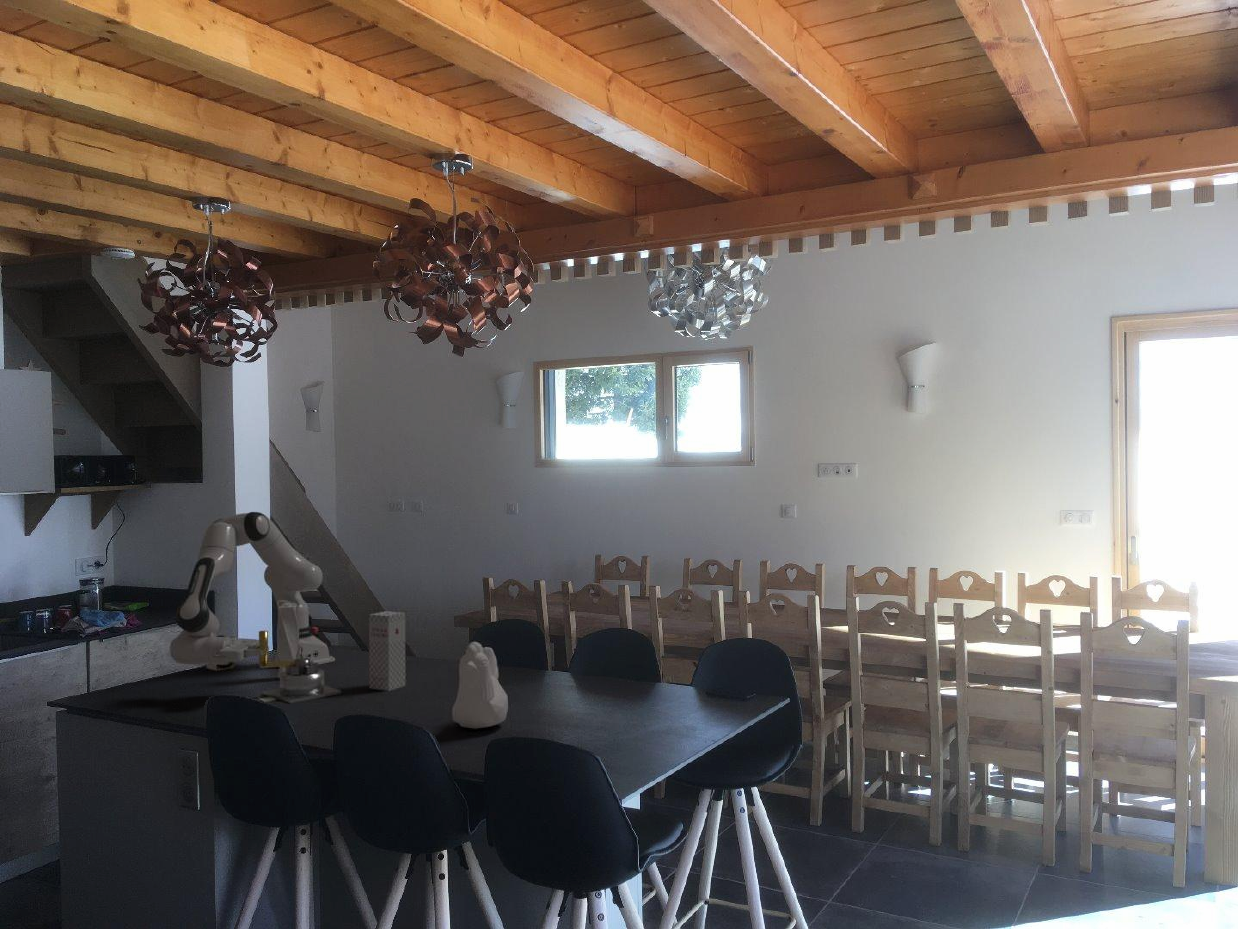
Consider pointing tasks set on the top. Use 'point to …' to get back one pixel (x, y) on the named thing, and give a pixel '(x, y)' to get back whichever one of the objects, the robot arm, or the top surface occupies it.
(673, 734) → the top surface
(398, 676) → the box
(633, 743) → the top surface
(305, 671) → the crank handle
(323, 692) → the metal pedestal base
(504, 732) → the top surface
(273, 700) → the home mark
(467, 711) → the white figurine
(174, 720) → the top surface
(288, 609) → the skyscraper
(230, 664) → the medicine bottle
